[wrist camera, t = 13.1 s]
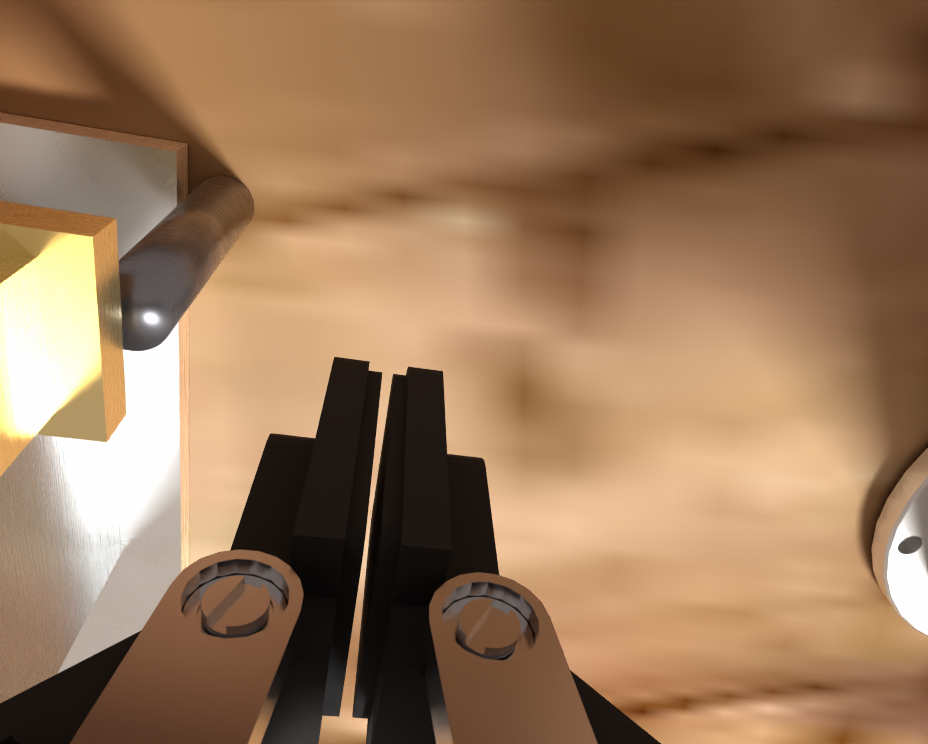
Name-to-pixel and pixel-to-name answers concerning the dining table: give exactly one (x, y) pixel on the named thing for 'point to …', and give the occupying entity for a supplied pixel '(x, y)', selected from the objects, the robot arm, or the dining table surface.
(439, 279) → the dining table surface
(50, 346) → the plate
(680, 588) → the dining table surface
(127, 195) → the hitch block
